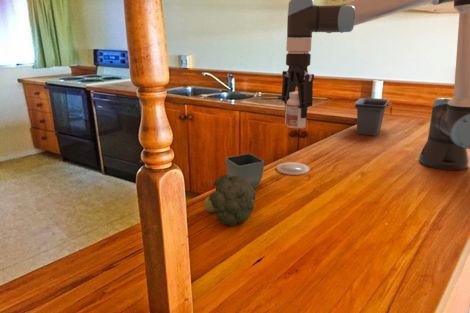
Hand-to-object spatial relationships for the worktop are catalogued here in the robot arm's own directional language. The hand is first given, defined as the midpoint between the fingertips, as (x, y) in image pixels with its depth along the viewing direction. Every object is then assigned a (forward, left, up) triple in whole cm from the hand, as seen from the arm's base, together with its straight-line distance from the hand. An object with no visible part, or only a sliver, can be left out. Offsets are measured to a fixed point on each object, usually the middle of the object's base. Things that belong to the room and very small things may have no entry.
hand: (295, 125), depth 122 cm
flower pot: (-6, +22, -15) cm, 28 cm away
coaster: (0, 0, -15) cm, 15 cm away
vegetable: (-22, +35, -16) cm, 44 cm away
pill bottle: (0, 0, -1) cm, 1 cm away
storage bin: (+25, -63, -16) cm, 69 cm away
